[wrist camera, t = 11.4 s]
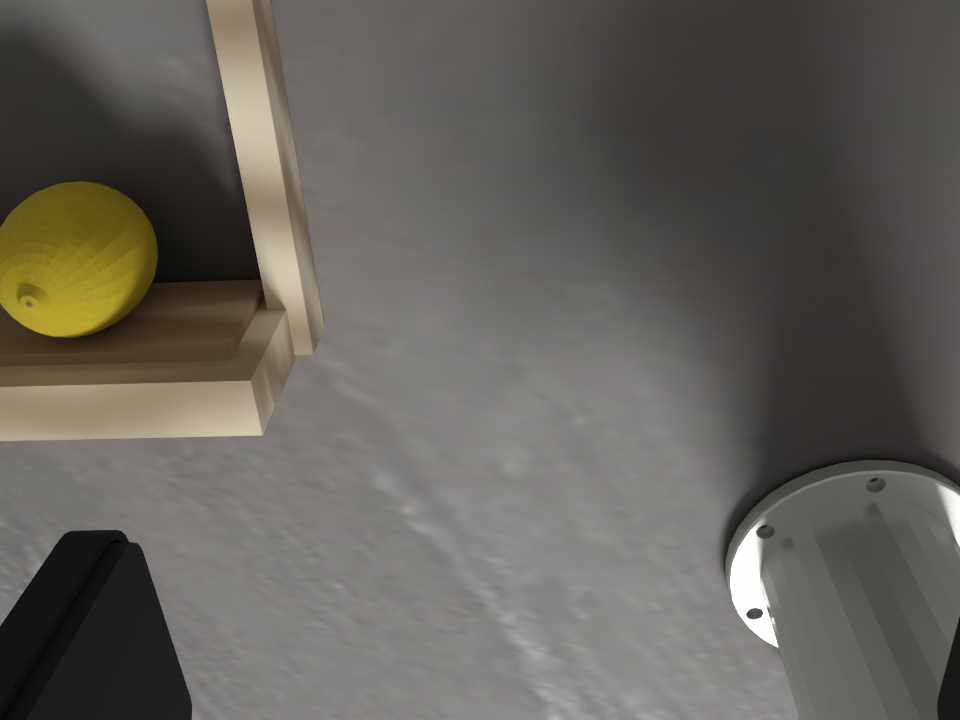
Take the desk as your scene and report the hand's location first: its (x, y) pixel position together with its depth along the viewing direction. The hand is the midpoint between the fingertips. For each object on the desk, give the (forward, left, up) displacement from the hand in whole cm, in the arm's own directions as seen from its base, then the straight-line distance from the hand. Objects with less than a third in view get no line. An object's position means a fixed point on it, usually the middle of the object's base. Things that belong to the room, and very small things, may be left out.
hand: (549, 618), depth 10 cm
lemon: (-5, +18, -28) cm, 34 cm away
